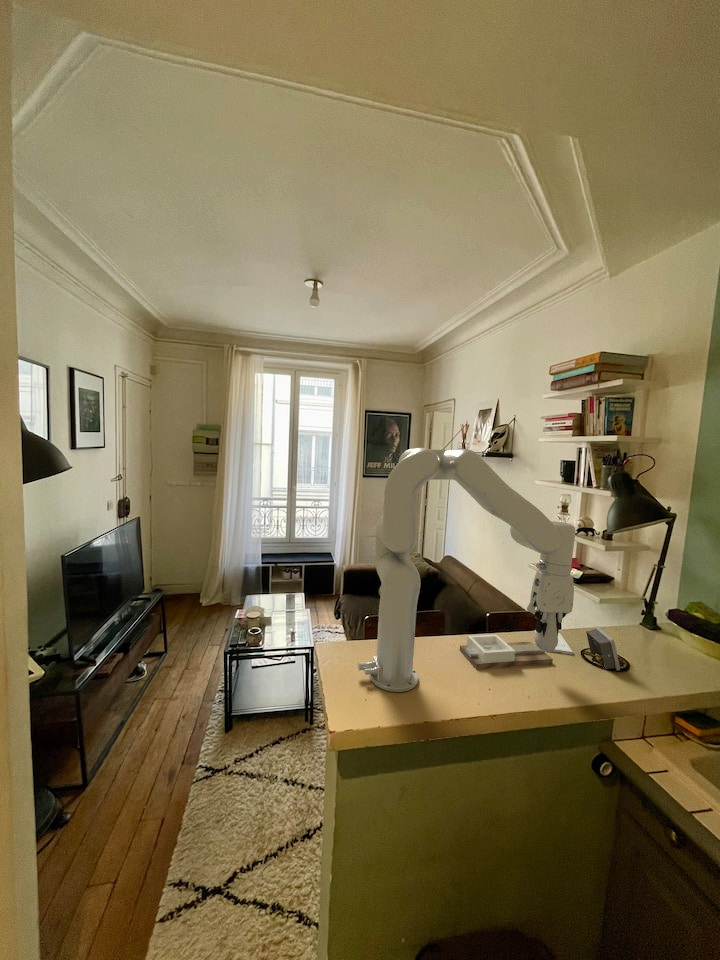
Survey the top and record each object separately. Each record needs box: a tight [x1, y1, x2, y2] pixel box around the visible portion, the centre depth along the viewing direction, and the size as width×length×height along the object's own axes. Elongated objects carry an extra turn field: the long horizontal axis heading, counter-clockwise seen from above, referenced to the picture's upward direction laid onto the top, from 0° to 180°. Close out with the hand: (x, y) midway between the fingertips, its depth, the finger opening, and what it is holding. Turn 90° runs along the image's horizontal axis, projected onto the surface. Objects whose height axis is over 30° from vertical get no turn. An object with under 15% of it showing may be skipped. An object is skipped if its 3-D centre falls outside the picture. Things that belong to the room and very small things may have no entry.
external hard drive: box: [534, 629, 574, 656], centre depth 120 cm, size 2×8×12 cm
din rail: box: [465, 643, 546, 658], centre depth 110 cm, size 24×4×1 cm, turn 101°
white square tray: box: [466, 634, 515, 663], centre depth 109 cm, size 10×10×3 cm
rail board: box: [459, 641, 553, 670], centre depth 110 cm, size 24×10×2 cm, turn 101°
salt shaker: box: [533, 612, 558, 653], centre depth 100 cm, size 6×6×13 cm
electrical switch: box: [585, 625, 621, 672], centre depth 109 cm, size 9×5×9 cm, turn 174°
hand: (546, 634), depth 100 cm, fingers closed on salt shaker, 3 cm apart
